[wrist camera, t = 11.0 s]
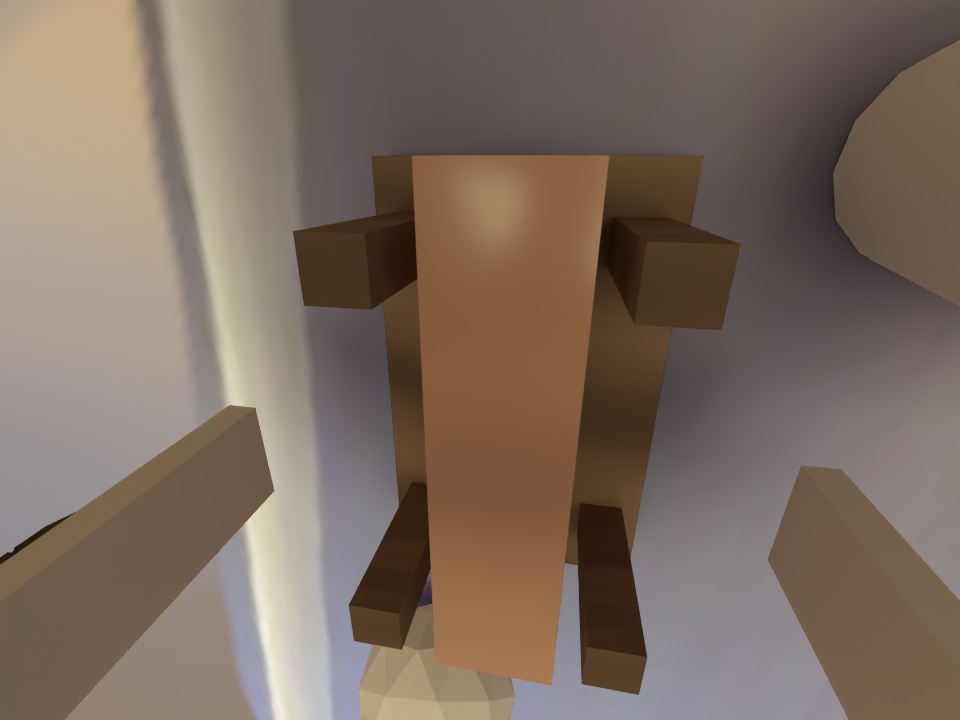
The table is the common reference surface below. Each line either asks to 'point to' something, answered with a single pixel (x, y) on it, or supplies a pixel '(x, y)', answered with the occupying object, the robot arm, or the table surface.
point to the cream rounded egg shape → (429, 683)
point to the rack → (606, 397)
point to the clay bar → (503, 392)
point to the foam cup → (908, 176)
